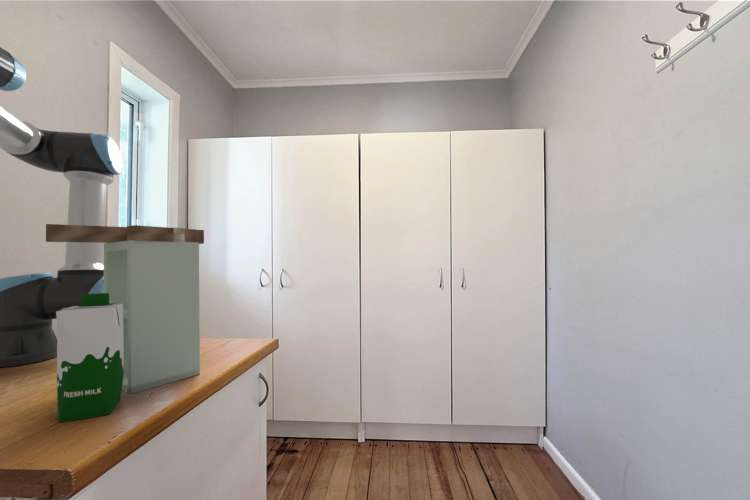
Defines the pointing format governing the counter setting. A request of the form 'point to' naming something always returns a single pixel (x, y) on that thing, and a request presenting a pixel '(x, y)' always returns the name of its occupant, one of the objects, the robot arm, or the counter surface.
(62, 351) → the milk carton
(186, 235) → the banded slat
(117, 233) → the plain slat
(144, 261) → the shelf unit
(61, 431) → the counter surface
